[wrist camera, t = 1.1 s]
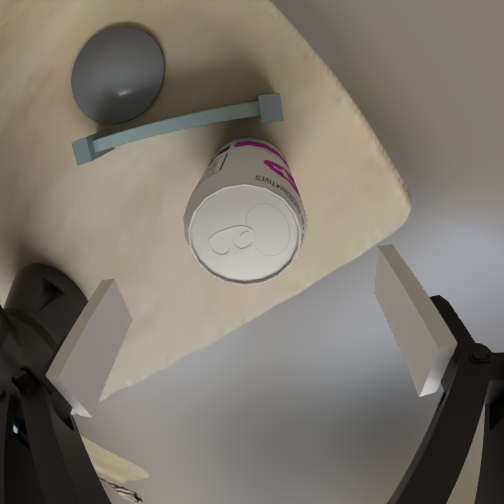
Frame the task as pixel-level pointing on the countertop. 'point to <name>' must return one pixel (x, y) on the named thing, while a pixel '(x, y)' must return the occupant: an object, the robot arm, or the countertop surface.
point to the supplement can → (246, 214)
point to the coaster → (118, 75)
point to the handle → (177, 125)
